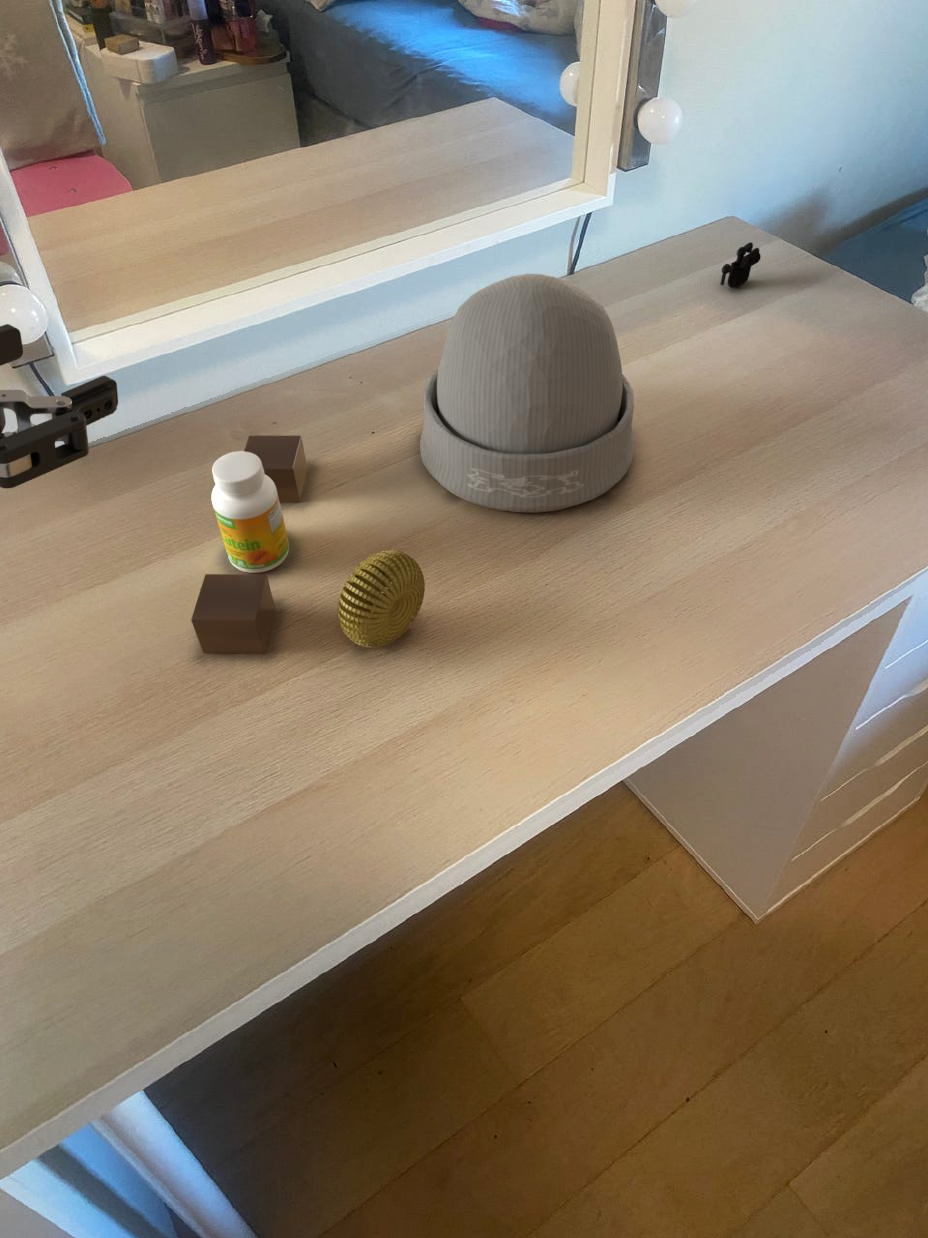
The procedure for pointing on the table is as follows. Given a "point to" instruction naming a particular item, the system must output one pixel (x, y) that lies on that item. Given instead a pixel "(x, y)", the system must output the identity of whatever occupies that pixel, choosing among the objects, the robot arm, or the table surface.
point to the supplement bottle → (248, 513)
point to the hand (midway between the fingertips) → (64, 364)
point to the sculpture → (381, 599)
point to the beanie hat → (529, 399)
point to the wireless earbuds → (741, 266)
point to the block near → (234, 613)
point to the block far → (281, 463)
